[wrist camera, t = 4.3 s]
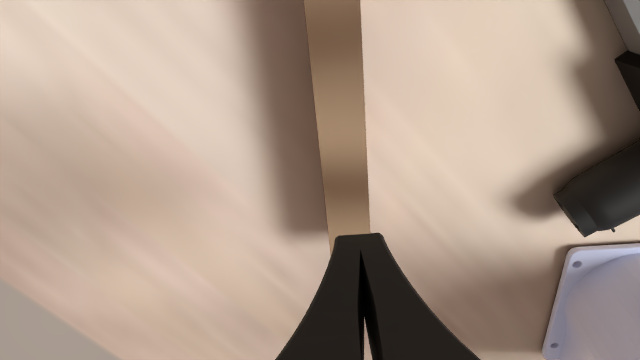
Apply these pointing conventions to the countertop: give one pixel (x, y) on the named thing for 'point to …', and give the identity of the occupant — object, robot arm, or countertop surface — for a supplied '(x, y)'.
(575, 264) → the robot arm
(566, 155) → the countertop surface
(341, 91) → the bar
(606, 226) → the door handle
